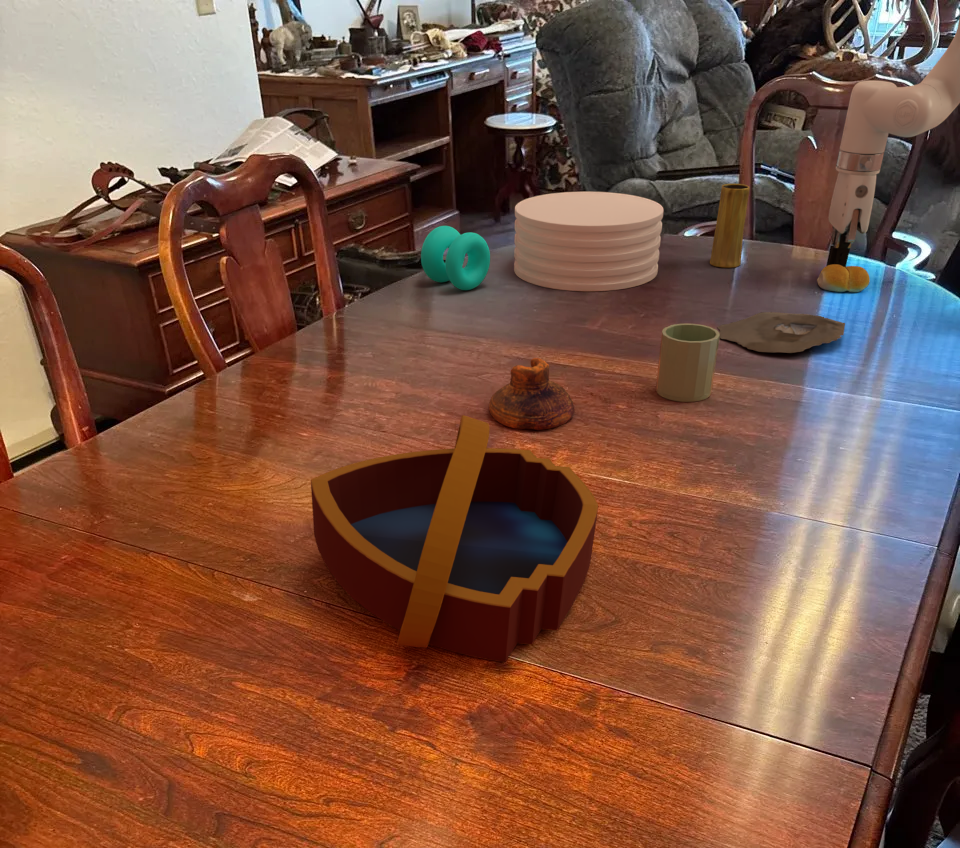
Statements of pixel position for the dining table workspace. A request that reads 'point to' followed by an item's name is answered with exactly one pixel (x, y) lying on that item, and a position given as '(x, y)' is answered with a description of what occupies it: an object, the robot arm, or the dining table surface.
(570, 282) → the plate stack
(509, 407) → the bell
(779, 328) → the fabric swatch
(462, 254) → the donuts
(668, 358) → the teacup
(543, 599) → the decorative basket
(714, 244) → the vase
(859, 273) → the bread roll
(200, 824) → the dining table surface
